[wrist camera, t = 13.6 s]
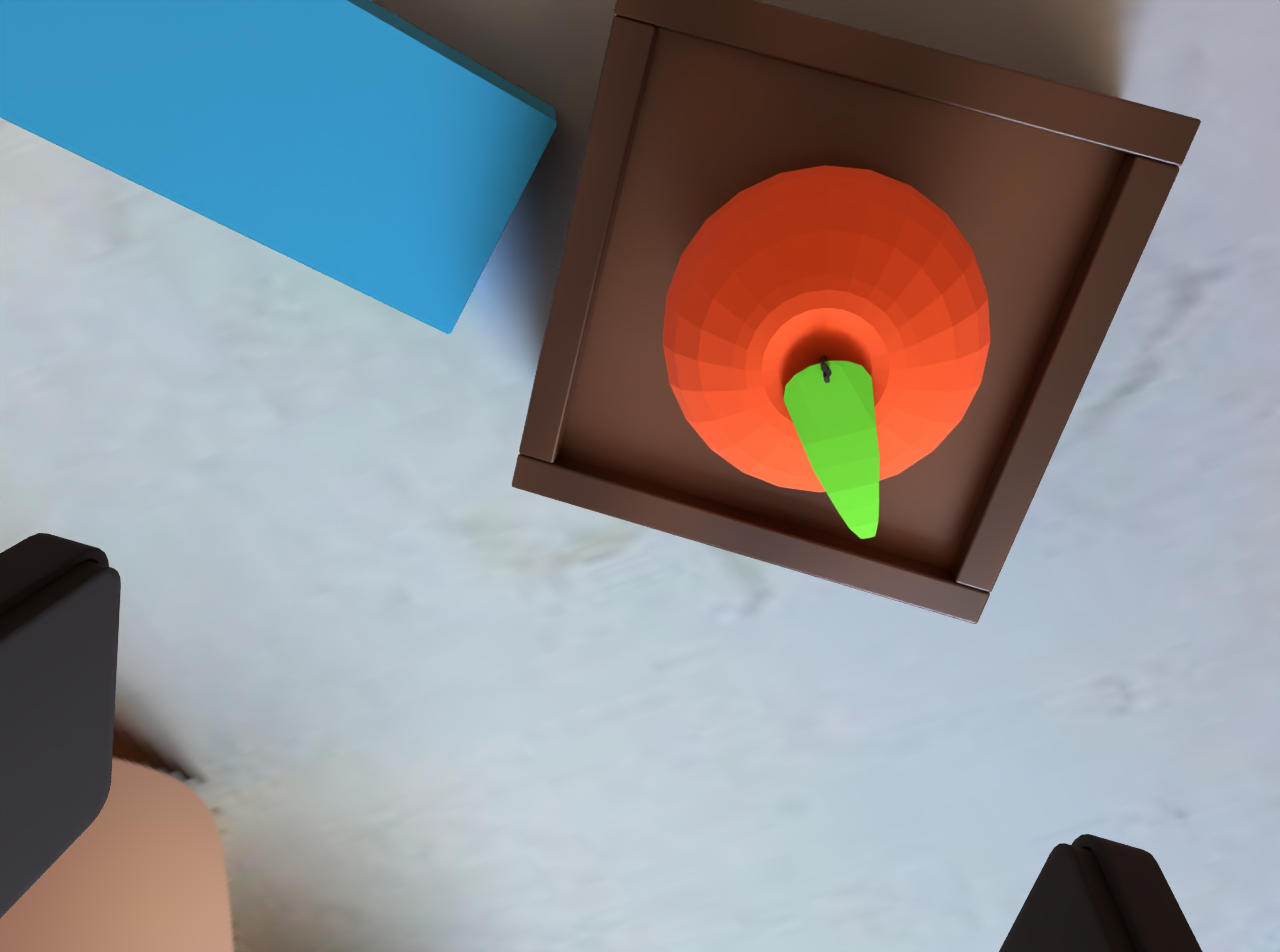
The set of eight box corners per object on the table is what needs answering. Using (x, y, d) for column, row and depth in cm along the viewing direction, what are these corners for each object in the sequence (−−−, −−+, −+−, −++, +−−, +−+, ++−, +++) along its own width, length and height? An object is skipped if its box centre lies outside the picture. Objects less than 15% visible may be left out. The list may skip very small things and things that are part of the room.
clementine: (996, 436, 25) (1067, 555, 18) (733, 498, 27) (710, 627, 20) (930, 117, 22) (984, 122, 16) (646, 206, 24) (588, 244, 18)
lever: (554, 88, 32) (-26, -254, 27) (558, 122, 26) (-192, -312, 21) (465, 266, 35) (-81, -13, 30) (449, 335, 29) (-243, 0, 23)
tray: (558, 423, 32) (510, 487, 27) (658, -7, 27) (623, -35, 22) (946, 536, 31) (977, 625, 26) (1120, 117, 26) (1203, 119, 21)
